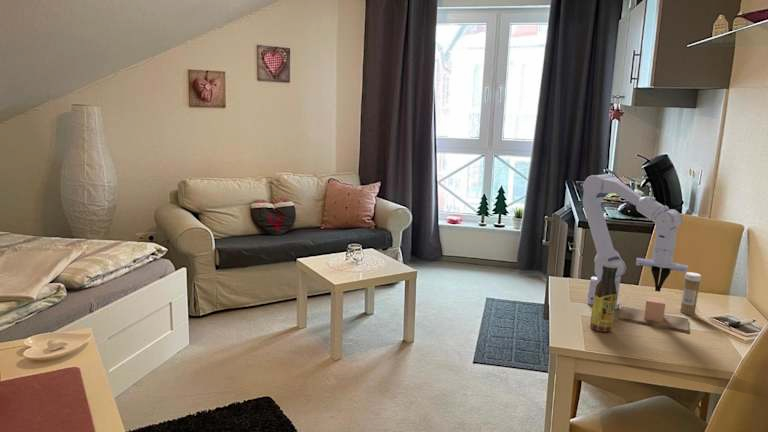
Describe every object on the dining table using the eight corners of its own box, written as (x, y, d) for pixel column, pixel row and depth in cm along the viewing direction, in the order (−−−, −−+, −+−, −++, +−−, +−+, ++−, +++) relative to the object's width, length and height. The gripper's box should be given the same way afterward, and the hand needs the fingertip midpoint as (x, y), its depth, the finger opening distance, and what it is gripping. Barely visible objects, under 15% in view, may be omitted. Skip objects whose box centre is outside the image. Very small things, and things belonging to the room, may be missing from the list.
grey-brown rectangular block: (618, 319, 187) (620, 301, 186) (620, 308, 197) (623, 291, 196) (688, 332, 179) (691, 314, 178) (687, 320, 189) (690, 303, 187)
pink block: (643, 318, 186) (646, 300, 185) (644, 313, 191) (647, 295, 190) (662, 322, 184) (665, 304, 183) (662, 316, 189) (665, 299, 188)
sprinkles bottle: (697, 313, 195) (704, 274, 193) (690, 316, 193) (696, 276, 190) (684, 309, 199) (690, 270, 196) (676, 311, 197) (683, 272, 194)
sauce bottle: (601, 334, 174) (609, 270, 170) (585, 326, 180) (593, 263, 176) (616, 331, 177) (625, 267, 173) (600, 323, 183) (608, 261, 179)
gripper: (638, 247, 182) (632, 289, 185) (690, 255, 176) (683, 298, 179) (639, 243, 189) (633, 283, 191) (689, 250, 183) (683, 292, 185)
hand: (657, 290), depth 186 cm, fingers closed
